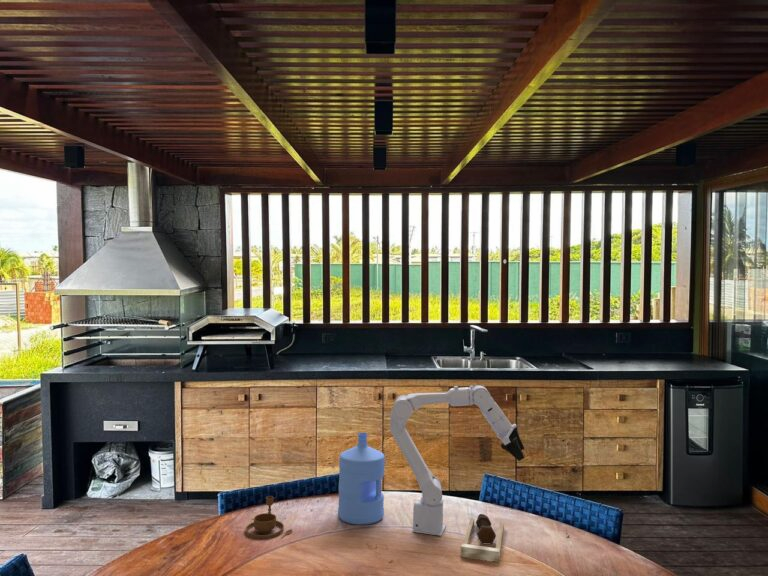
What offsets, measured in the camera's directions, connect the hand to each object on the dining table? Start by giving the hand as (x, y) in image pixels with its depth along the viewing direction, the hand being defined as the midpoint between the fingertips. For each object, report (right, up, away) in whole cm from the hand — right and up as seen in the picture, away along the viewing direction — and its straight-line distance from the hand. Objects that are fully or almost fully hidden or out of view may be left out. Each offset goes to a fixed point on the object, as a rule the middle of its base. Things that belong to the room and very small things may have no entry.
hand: (521, 454), depth 173 cm
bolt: (-12, -26, 0) cm, 28 cm away
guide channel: (-13, -25, -6) cm, 29 cm away
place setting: (-81, -25, +2) cm, 84 cm away
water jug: (-52, -25, +12) cm, 59 cm away
